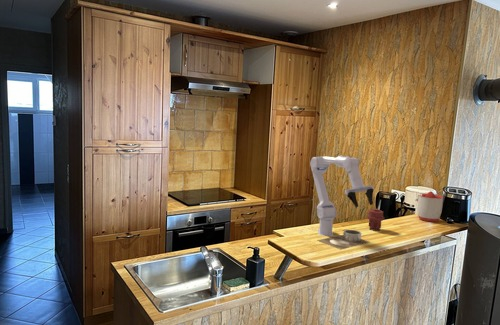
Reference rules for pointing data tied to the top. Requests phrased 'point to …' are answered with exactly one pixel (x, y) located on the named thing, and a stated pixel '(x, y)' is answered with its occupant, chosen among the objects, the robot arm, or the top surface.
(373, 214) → the mechanical component
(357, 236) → the steel bearing ring
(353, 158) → the robot arm
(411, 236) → the top surface
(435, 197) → the citrus juicer
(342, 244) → the seat board
